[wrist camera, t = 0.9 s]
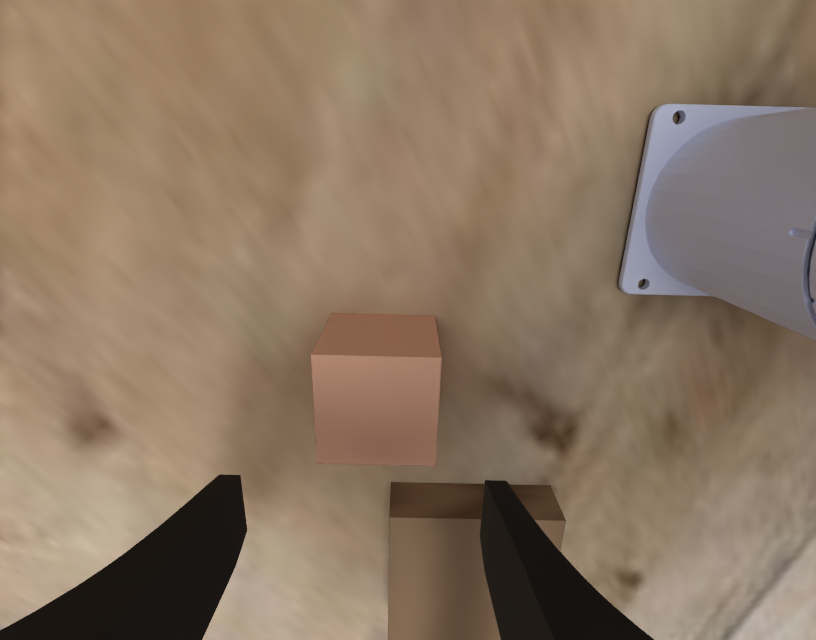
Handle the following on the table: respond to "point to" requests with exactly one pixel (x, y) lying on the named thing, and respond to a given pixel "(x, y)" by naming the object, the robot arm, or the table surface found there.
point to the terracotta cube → (377, 390)
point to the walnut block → (448, 558)
